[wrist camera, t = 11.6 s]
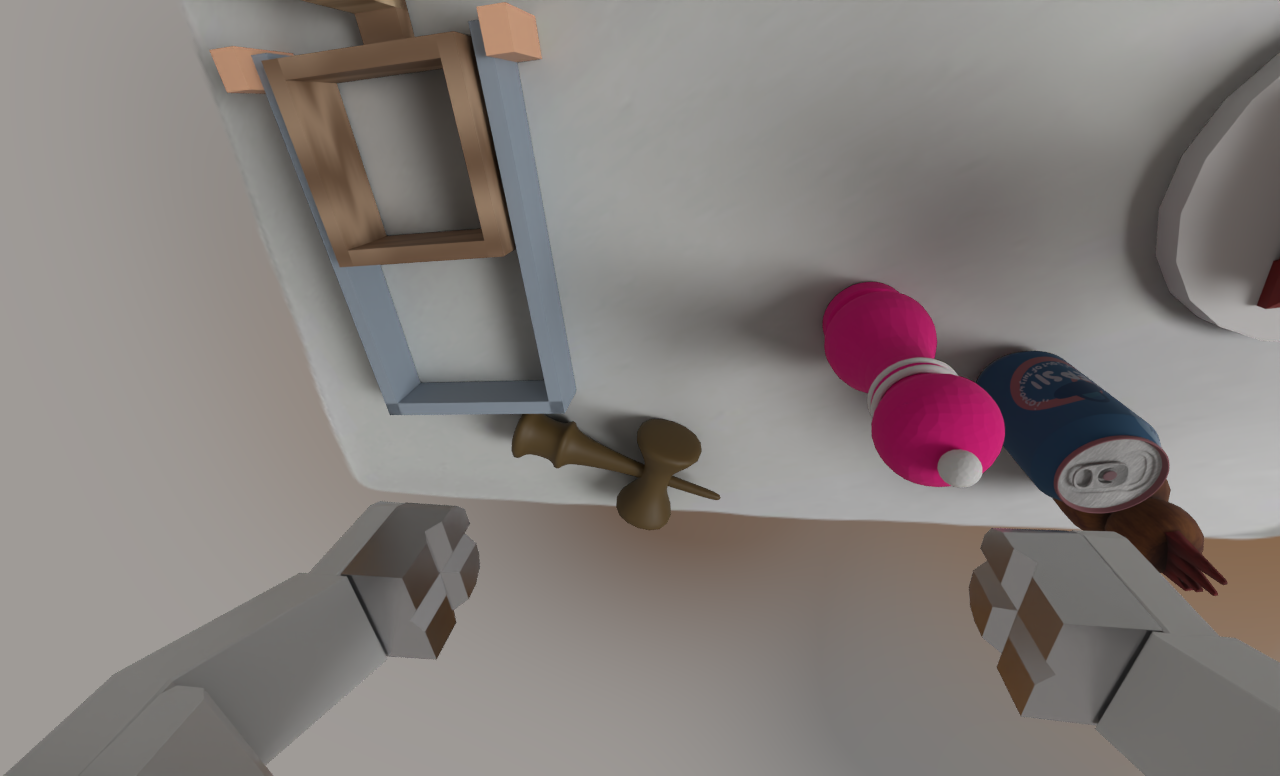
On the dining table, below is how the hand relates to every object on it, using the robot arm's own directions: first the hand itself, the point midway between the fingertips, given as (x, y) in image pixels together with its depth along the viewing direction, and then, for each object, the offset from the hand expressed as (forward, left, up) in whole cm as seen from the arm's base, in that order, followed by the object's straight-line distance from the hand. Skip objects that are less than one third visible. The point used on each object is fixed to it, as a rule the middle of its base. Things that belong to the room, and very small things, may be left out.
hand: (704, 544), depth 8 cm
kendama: (+22, -10, -34) cm, 42 cm away
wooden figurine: (+23, +29, -34) cm, 50 cm away
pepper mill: (+10, +11, -34) cm, 37 cm away
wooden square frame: (-8, -22, -34) cm, 41 cm away
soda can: (+16, +23, -34) cm, 44 cm away
